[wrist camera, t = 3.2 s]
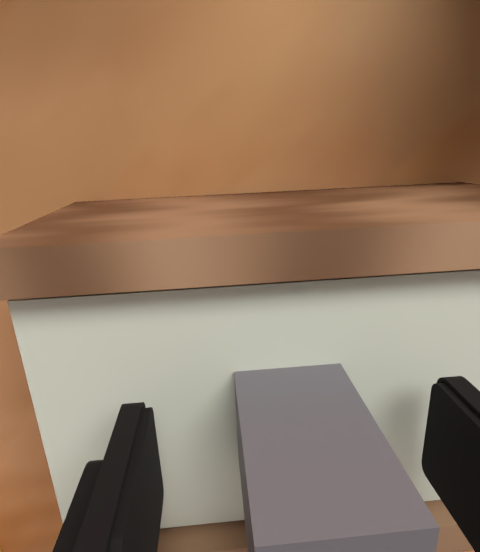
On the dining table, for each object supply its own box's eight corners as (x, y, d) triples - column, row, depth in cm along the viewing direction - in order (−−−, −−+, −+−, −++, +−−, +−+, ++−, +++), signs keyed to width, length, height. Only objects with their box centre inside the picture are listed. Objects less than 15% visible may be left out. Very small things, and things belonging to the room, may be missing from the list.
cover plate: (522, 257, 11) (817, 364, 6) (479, 475, 14) (655, 690, 8) (21, 290, 10) (-182, 451, 5) (74, 515, 13) (-22, 784, 8)
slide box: (461, 182, 17) (650, 210, 10) (431, 401, 20) (553, 541, 13) (75, 202, 16) (-34, 250, 9) (115, 429, 19) (61, 595, 12)
